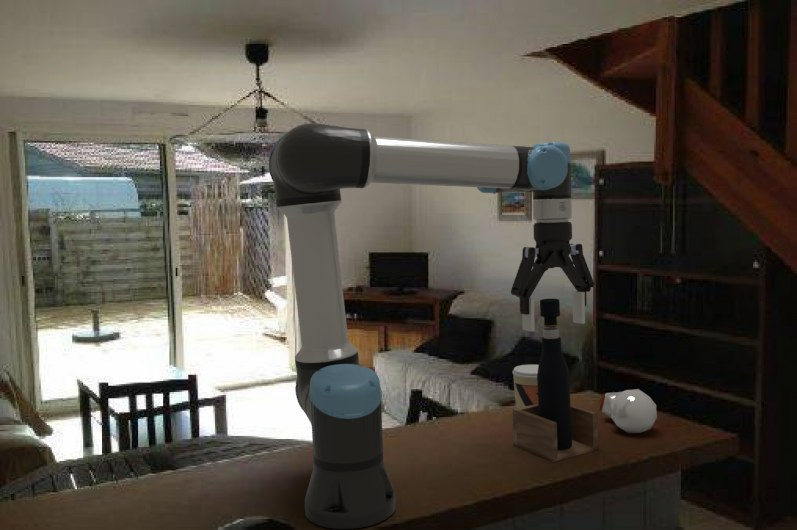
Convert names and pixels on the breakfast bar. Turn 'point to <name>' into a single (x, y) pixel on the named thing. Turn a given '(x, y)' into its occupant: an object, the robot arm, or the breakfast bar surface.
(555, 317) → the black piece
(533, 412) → the u rest
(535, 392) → the coffee cup
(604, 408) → the potion bottle
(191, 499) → the breakfast bar surface
